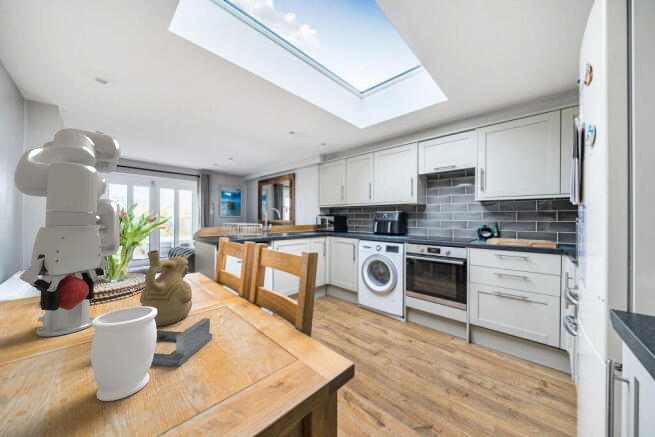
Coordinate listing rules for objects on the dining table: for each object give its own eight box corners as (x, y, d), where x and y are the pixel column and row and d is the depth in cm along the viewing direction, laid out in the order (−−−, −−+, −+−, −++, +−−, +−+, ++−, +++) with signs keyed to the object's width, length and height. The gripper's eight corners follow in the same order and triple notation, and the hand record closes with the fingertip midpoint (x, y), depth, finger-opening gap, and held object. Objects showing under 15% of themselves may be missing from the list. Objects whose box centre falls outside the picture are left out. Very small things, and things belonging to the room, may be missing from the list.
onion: (61, 316, 48) (63, 276, 48) (40, 313, 50) (42, 274, 50) (94, 306, 54) (96, 271, 54) (75, 304, 55) (76, 269, 55)
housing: (94, 361, 59) (95, 334, 59) (142, 334, 73) (143, 313, 73) (179, 366, 57) (180, 339, 57) (212, 338, 71) (212, 316, 71)
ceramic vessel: (203, 309, 94) (204, 245, 95) (172, 332, 75) (174, 251, 75) (159, 309, 94) (161, 245, 94) (116, 332, 74) (119, 251, 75)
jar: (117, 372, 55) (120, 305, 55) (165, 370, 55) (167, 305, 56) (72, 408, 44) (75, 325, 44) (132, 405, 45) (135, 324, 45)
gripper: (97, 220, 61) (94, 291, 61) (-1, 220, 44) (-5, 319, 44) (124, 221, 60) (122, 293, 60) (36, 221, 43) (32, 322, 43)
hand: (68, 303), depth 52 cm, fingers closed on onion, 5 cm apart
